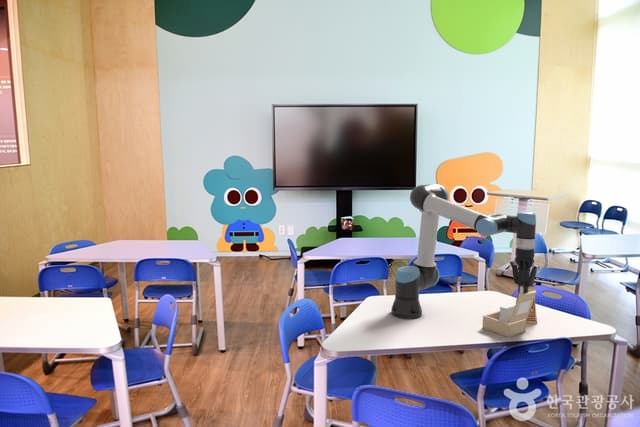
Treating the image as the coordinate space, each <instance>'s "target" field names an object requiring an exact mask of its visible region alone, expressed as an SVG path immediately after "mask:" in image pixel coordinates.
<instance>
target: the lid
mask: <svg viewBox="0 0 640 427" xmlns="http://www.w3.org/2000/svg"><path fill="white" fill-rule="evenodd" d="M536 294H537V290H535V291H532V292H528V293H524V294H521V295H519V296H518V299H517V298H516V299H517V302H516V301H515V305H514V306H515V307H514V310H513V313H512V316H511V319H510V322H509V323H510V324H511V323H514V322H517V321H521V320H524V319H527V317H528V314H529V311H530V309H531V306H532V303H533V300H534V298H535V299H536Z"/></svg>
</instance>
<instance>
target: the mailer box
mask: <svg viewBox="0 0 640 427" xmlns="http://www.w3.org/2000/svg"><path fill="white" fill-rule="evenodd" d="M514 307H515V305H514V304H510V303H508V304H506V305H502V306H500V307H499V310H498V311H494V312H491V313H488V314H484V315H482V325H481V326H482V329H484V330H487V331H489V332H491V333H495V334H498V335H499V336H500V335H501V336H502V337H506V338H508V339H509V338H513V337H515V336H519V335H521V334H524V333H526V328H527V326H526V324H527V322H526V319H524V320H521V321H517V322H514V323H511V324H510V323H509V322H510V319H511V316H512V313H513V310H514Z"/></svg>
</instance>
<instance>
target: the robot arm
mask: <svg viewBox="0 0 640 427" xmlns="http://www.w3.org/2000/svg"><path fill="white" fill-rule="evenodd" d="M449 197H450V196H449V192H448V190H447V189H446V187H445V186H443V185H441V184H437V183H430V184H424V185H423V184H419V185H417V186H415V187H413V189H412V190H411V192H410V195H409V200H410V203H411V205H412V206H413V207H414V208H415V209H416V210H419V212H420V213H421V217H420V226H419V237H418V246H417V255H416V256H417V257H416V259H414V260H413V264H412V265H406V266H405V265H403V266H401V267H398V268H397V269H396V271H395V277H394V278H395V280H394V282H395V283H394V284H395V289H394V290H395V291H394V294H395V295H394V297H395V298H394V300H393V304H392V306H391V310H390V311H391V312H390V313H391V315H392V316H393V317H396V318H400V319H409V320H410V319H418V318H421V317H422V316H423V310H422V306H421V303H420V291H423V290H425V289H429V288H432V287H434V286H435V285H437V283H438V282H439V279H440V270H439V269H438V267H437V265H438V264H437V263H436V262H435V257H436V256H435V254H436V245H437V238H438V229H439V219H440V217H442V218H445V219H448V220H450V221H452V222H455V223H458V224H460V225H463V226H465V227H467V228H470V229H473V230H475V231H477V233H478V234H479V236H483V237H490V236H493V235H497V234H502V233H512V234H515V247H516V248H515V258H514V260H512V261H509V264H510V267H511V272H512V276H513V282H514V284H516V285H517V286H518V288H517V289H518V292H519V293H520V295H521V294H524V293H528V287H530V286H534V282H535V279H536V276H537V273H538V270H539V269H540V265H537V264H536V263H535V260H534V258H535V250H536V249H534V248H535V247H536V227H537V215H536V213H535V212H531V211H518V212H517V214H516V215H508V214H500V213H499V214H498V213H495V214H492V215H491V216H488V215H486V214H483V213H480V212H478V211H475V210H472V209H470V208H468V207H464V206H463V205H459V204H456V203H455V202H452V201H449ZM518 292H517V293H518Z"/></svg>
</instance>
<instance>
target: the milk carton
mask: <svg viewBox="0 0 640 427" xmlns="http://www.w3.org/2000/svg"><path fill="white" fill-rule="evenodd" d="M532 291H536V287H535V285H533V286H530V287H528V292H532ZM519 295H520V293H519V292H517V295H516V300H515V303H516V302H517V299H518V296H519ZM536 310H537V307H536V297H535V298H534V300H533V303H532V306H531V309H530V311H529V314H528V317H527V319H526V324H527V323H528V324H538V318H537V311H536Z"/></svg>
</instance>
